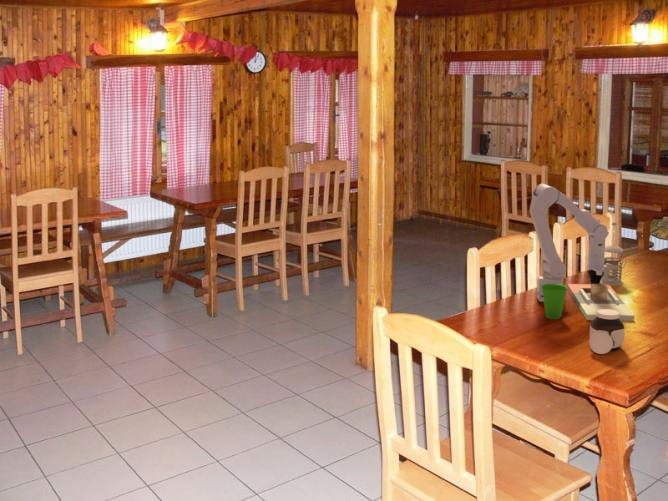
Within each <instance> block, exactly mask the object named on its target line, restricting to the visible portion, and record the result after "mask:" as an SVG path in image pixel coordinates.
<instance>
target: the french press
mask: <svg viewBox="0 0 668 501" xmlns="http://www.w3.org/2000/svg"><path fill="white" fill-rule="evenodd" d="M617 225H618V223H617V222H615V221H613V222H612V223H611V226H613V229H615V226H617ZM614 239H615V234H613V239H612V245H607V246H606V245H605V253H609V254H612V256H609V257H608V256H607V257H604V265H606V266H607V268H604V269H603V272H604V275H603V277H602V278H601V281H600V284H605V285H610V286H621V285H624V282H623V281H622V274H623V273H622V270H623V269H624V268H625V266H626V264H627V260H625V263H624V260H622V258H620V257H613V256H614V254H618V256H621V257H624V256H625V258H627V255H626V254H625V252H624V249H623V248H622V247H620V246H618V245H615V244H614V242H615V240H614ZM621 261H622V262H621ZM623 263H624V265H623Z"/></svg>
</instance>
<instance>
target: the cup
mask: <svg viewBox="0 0 668 501" xmlns="http://www.w3.org/2000/svg"><path fill="white" fill-rule="evenodd" d="M541 288H542V289H543V298H544V302H543V305H544V315H545V317H546V318H547V319H550V320H558V319H561V317H562V313H563V309H564V303H565V302H564V300H565V301H566V294H567V291H568V287H567V285H564V284H563V285H561V284H545V285H542V286H541Z"/></svg>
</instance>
